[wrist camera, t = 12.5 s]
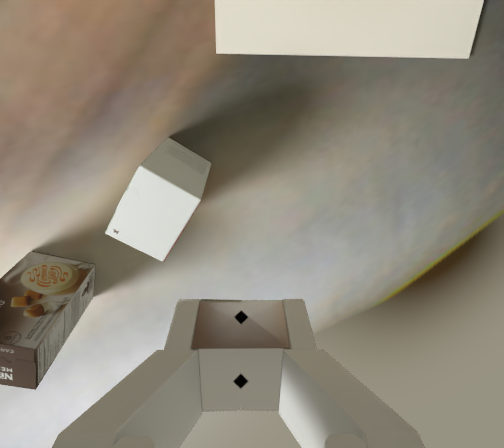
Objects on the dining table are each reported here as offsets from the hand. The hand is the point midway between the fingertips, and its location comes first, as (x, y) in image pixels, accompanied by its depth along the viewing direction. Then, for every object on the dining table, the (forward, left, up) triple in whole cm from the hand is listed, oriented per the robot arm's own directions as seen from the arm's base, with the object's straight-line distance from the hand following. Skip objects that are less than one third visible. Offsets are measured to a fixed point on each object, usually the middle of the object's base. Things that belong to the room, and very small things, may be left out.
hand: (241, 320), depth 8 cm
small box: (-1, -11, -35) cm, 37 cm away
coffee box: (-3, -34, -35) cm, 49 cm away
